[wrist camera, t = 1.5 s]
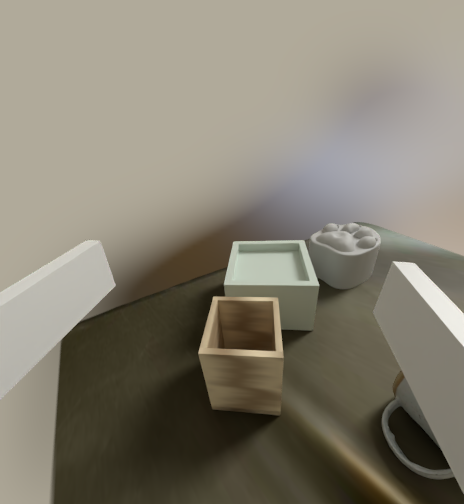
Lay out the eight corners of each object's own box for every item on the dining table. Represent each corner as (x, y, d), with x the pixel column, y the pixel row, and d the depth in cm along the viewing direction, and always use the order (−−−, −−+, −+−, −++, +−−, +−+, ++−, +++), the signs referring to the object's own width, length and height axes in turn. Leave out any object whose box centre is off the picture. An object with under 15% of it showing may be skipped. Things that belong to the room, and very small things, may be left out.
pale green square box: (300, 278, 44) (303, 239, 40) (312, 330, 33) (319, 285, 29) (236, 277, 46) (232, 241, 41) (228, 327, 35) (222, 284, 31)
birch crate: (276, 352, 31) (278, 296, 26) (280, 415, 24) (283, 357, 19) (221, 349, 32) (212, 295, 27) (211, 409, 25) (196, 353, 20)
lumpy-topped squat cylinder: (299, 268, 47) (302, 230, 43) (339, 248, 52) (345, 213, 48) (344, 294, 39) (354, 252, 35) (385, 267, 45) (398, 228, 40)
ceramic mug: (424, 375, 26) (449, 333, 23) (518, 454, 20) (574, 414, 16) (357, 414, 24) (372, 374, 20) (439, 520, 17) (485, 490, 14)
